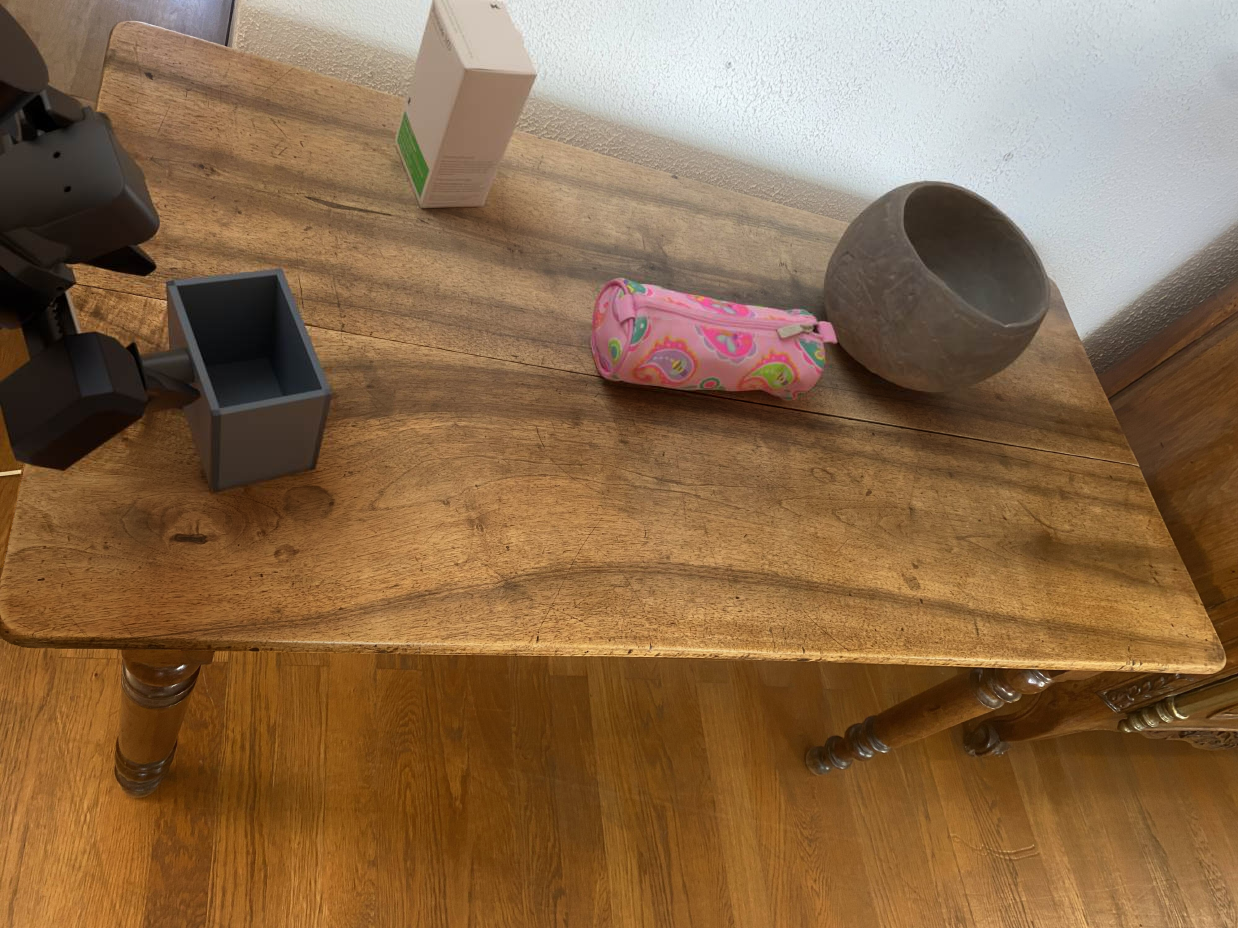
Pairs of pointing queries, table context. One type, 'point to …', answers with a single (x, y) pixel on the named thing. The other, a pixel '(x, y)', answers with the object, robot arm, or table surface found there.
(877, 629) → the table surface
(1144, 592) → the table surface
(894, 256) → the bowl
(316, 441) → the grey box with peg
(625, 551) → the table surface
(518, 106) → the cosmetic box
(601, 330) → the pencil case
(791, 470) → the table surface
